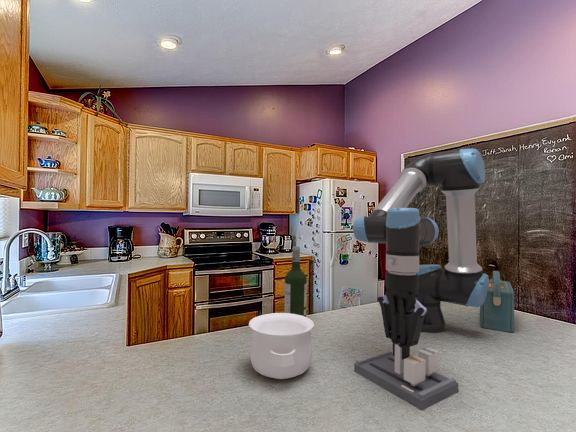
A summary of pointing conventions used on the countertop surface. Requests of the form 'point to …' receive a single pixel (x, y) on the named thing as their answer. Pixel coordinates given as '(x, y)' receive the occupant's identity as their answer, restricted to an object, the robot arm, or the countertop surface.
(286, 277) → the wine bottle
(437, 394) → the console
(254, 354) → the pot
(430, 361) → the fader high
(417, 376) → the fader low
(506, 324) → the teal lunch box
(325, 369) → the countertop surface
